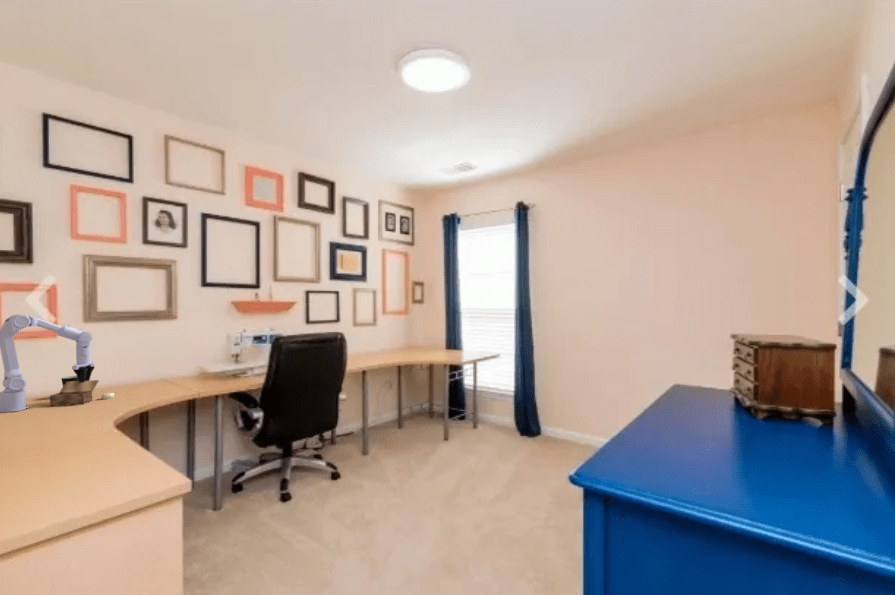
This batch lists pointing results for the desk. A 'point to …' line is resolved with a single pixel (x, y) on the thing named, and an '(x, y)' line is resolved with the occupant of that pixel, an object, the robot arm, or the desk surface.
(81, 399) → the walnut box
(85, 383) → the lid
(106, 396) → the cream domed disc
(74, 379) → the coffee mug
